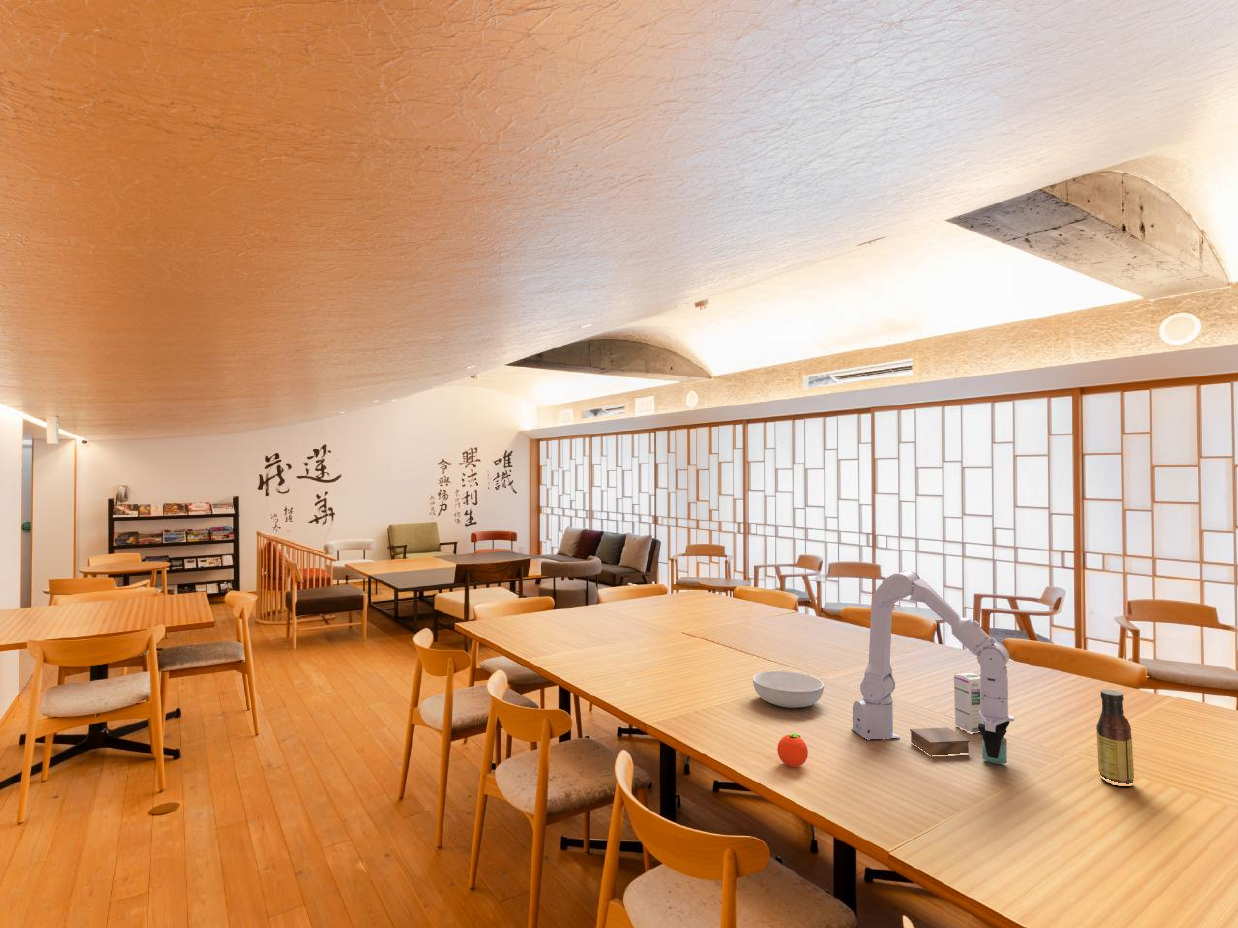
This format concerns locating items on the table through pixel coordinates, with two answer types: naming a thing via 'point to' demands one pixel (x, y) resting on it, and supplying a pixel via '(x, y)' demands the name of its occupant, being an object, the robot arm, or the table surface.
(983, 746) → the cylinder
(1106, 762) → the sauce bottle
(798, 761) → the tomato
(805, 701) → the serving bowl
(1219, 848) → the table surface
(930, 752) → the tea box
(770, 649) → the table surface
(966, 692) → the syrup box
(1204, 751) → the table surface
